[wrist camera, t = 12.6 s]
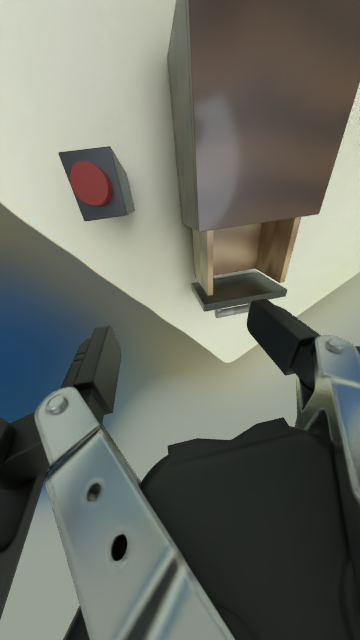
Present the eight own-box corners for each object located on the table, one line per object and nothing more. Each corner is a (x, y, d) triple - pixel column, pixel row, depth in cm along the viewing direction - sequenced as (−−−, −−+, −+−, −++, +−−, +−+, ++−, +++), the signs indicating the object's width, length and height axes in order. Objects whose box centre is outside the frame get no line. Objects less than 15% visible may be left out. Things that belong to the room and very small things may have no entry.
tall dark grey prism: (98, 176, 22) (43, 144, 10) (126, 172, 23) (105, 137, 10) (110, 213, 25) (76, 223, 13) (134, 210, 25) (125, 216, 13)
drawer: (254, 296, 36) (279, 318, 30) (193, 308, 35) (204, 332, 29) (272, 185, 26) (318, 179, 19) (184, 197, 25) (200, 195, 18)
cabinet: (268, 210, 28) (319, 214, 20) (182, 223, 27) (198, 232, 19) (294, 47, 19) (406, -68, 11) (167, 56, 18) (185, -65, 10)
